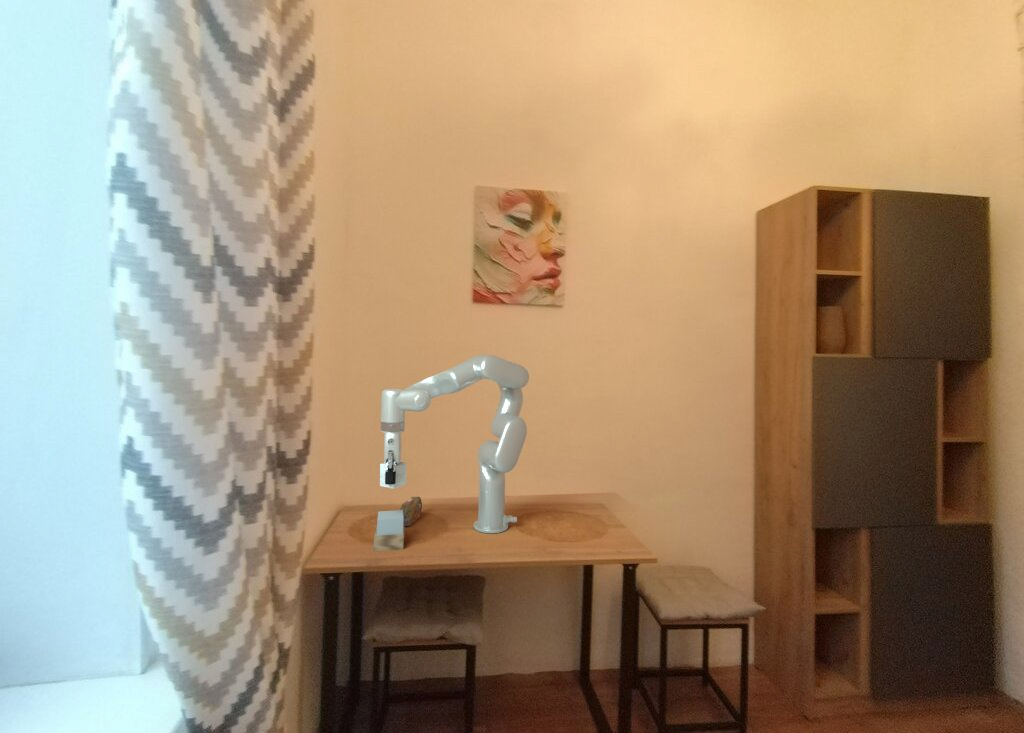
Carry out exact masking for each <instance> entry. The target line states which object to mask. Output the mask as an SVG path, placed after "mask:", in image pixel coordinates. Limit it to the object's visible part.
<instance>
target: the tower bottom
mask: <svg viewBox="0 0 1024 733" xmlns="http://www.w3.org/2000/svg"><path fill="white" fill-rule="evenodd" d="M404 542H405V526H404V525H403V534H393V535H380V536H377V526H376V528H375V532H374V535H373V552H383V551H382V550H388V551H400V550H404V544H405V543H404Z"/></svg>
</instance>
